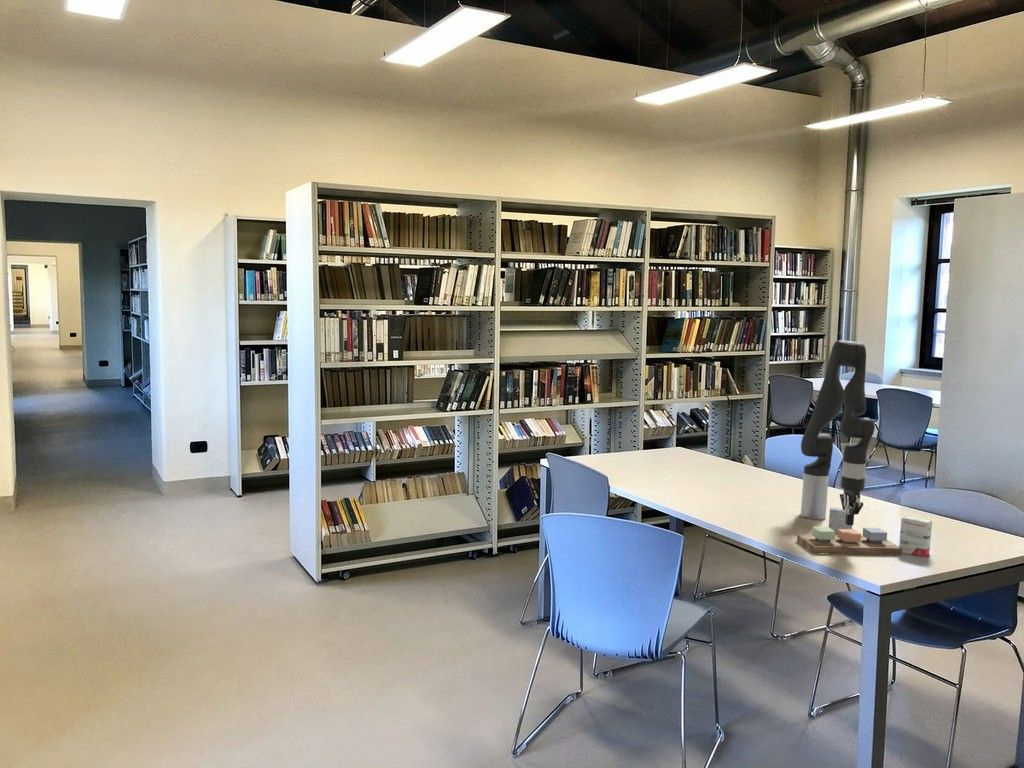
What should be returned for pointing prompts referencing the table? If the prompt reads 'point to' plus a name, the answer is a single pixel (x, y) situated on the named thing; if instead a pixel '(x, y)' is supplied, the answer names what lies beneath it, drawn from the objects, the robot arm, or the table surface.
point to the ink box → (915, 536)
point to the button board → (849, 546)
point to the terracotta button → (849, 535)
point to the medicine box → (838, 519)
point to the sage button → (823, 533)
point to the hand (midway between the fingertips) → (849, 524)
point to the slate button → (875, 534)
